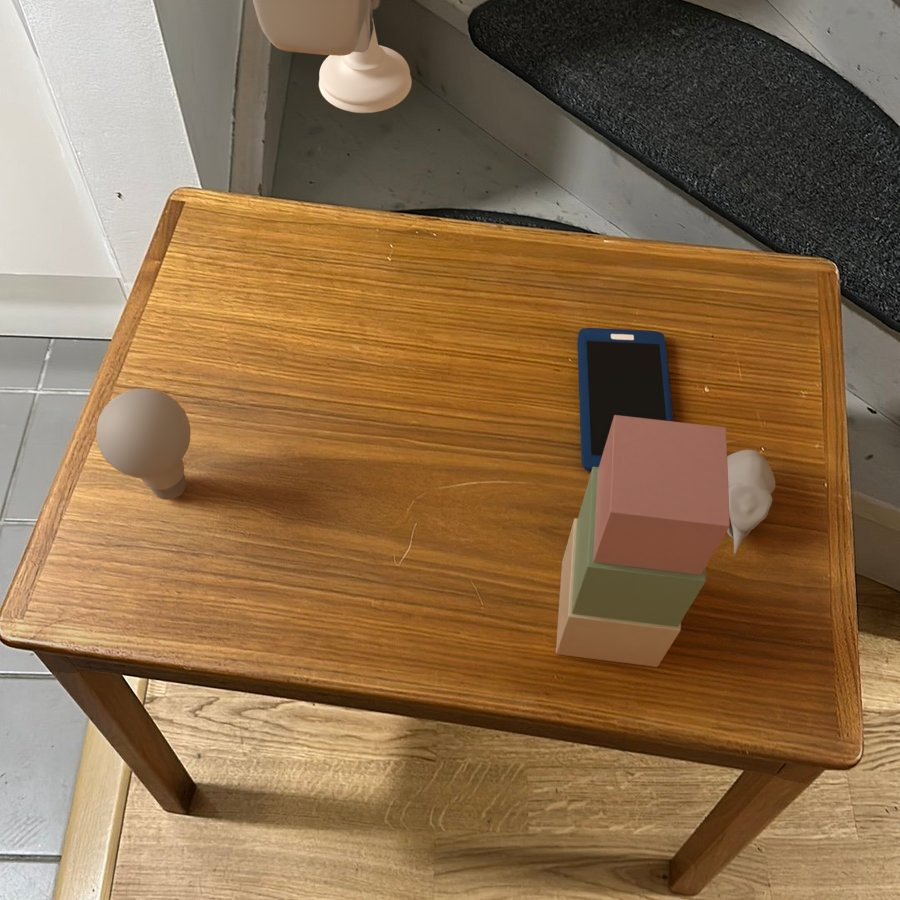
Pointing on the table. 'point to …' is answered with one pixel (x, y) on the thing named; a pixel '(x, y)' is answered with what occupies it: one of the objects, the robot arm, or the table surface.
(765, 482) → the figurine
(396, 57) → the chess piece
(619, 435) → the block stack
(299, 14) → the robot arm
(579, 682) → the table surface
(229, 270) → the table surface
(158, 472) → the lightbulb
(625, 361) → the cell phone
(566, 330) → the table surface
